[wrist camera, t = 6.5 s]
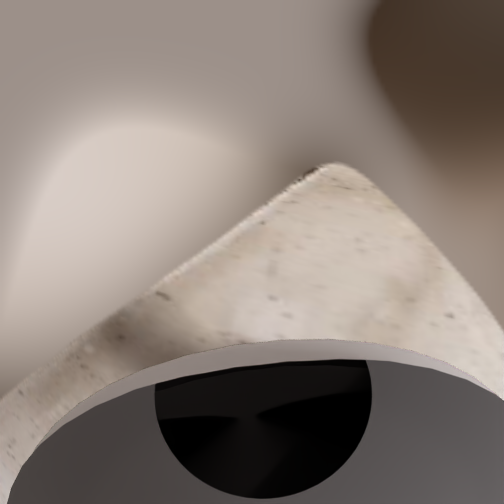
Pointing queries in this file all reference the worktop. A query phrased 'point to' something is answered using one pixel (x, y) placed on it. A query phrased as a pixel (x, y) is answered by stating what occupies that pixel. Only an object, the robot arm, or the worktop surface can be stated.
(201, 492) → the grey cylinder
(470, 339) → the worktop surface
